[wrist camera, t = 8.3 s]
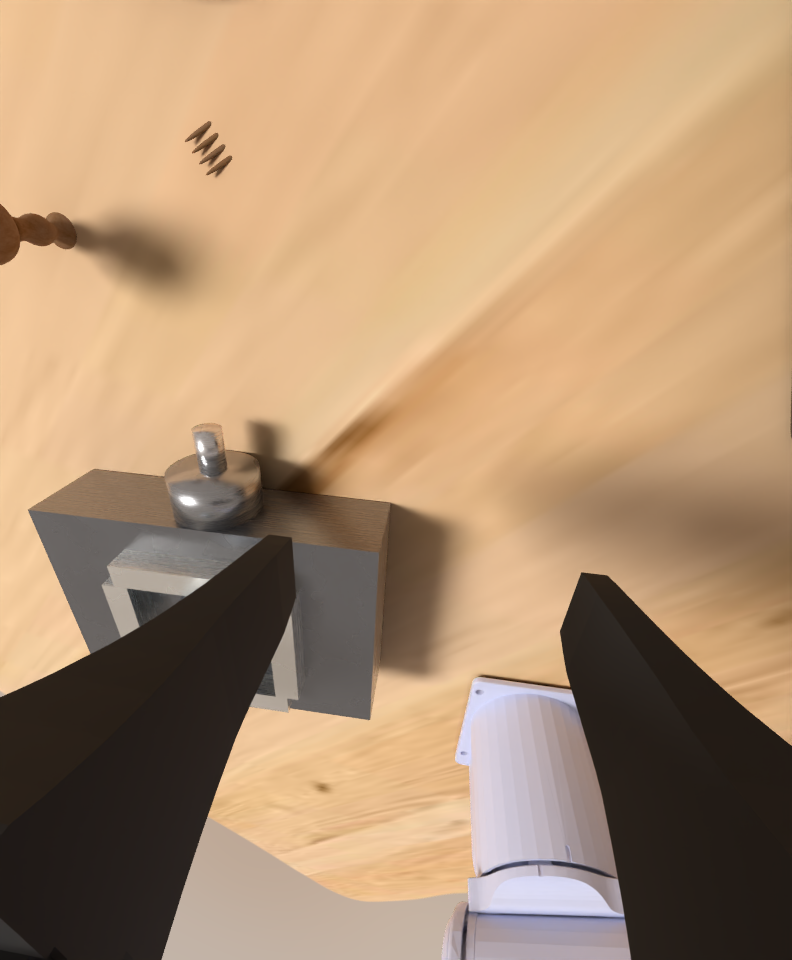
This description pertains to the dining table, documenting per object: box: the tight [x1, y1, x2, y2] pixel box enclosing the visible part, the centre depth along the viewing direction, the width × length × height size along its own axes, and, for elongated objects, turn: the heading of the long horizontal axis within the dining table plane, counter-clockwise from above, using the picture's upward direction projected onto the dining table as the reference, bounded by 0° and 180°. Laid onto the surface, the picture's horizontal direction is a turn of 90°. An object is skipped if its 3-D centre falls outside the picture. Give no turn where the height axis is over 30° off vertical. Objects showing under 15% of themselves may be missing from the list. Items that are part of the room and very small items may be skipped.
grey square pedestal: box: [28, 423, 391, 720], centre depth 22 cm, size 16×16×5 cm
